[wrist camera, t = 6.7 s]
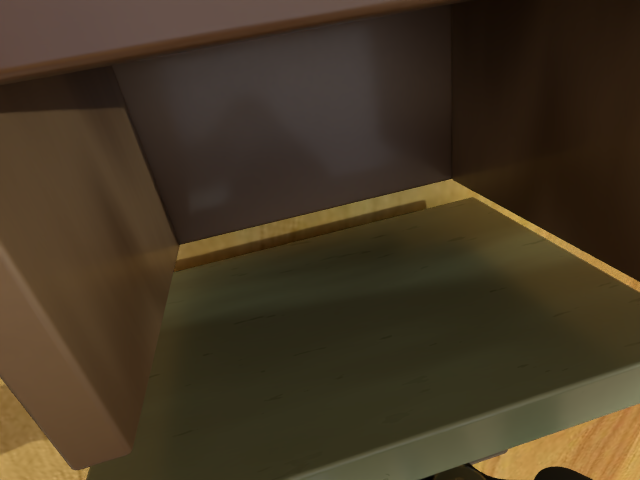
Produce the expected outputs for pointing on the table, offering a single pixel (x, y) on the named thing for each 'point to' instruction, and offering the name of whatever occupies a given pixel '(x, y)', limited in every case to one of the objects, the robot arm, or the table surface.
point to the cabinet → (158, 28)
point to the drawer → (327, 246)
